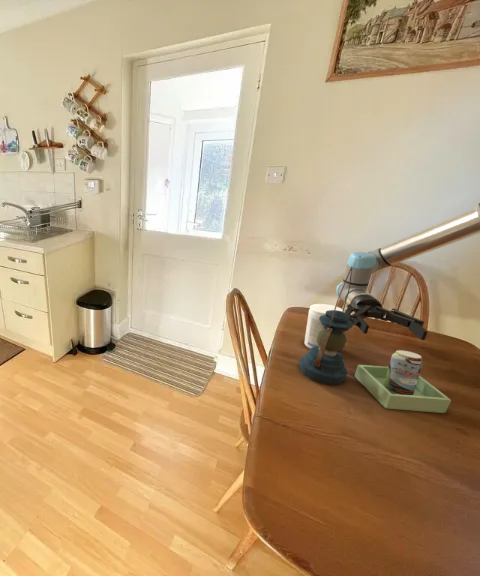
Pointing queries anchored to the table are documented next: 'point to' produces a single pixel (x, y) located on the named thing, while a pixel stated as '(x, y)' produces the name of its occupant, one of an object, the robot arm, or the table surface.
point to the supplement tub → (316, 323)
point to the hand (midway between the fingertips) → (394, 332)
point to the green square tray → (421, 400)
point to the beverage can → (403, 372)
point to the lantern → (328, 347)
